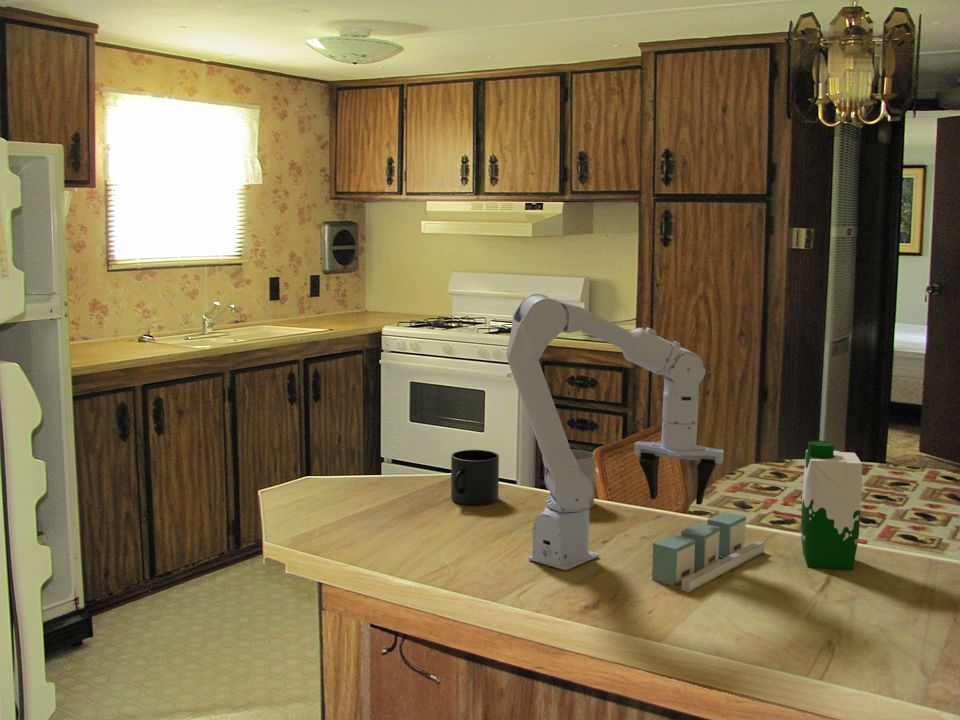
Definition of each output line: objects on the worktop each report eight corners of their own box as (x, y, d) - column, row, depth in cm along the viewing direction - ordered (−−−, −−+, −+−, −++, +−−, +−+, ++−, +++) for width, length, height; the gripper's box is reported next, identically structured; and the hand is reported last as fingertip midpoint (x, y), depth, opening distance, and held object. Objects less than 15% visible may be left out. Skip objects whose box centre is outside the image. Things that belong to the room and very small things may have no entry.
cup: (595, 510, 199) (596, 460, 197) (552, 510, 199) (553, 459, 197) (591, 498, 207) (592, 449, 206) (550, 497, 207) (551, 449, 206)
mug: (434, 504, 202) (434, 459, 201) (468, 490, 212) (468, 447, 211) (474, 512, 197) (475, 466, 196) (507, 497, 207) (507, 453, 206)
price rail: (689, 592, 157) (689, 581, 156) (681, 590, 158) (681, 579, 157) (764, 552, 175) (765, 542, 175) (757, 550, 176) (757, 540, 176)
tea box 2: (704, 572, 166) (705, 536, 165) (679, 566, 168) (681, 531, 167) (719, 562, 170) (721, 527, 170) (695, 557, 173) (697, 522, 172)
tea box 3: (728, 559, 172) (730, 524, 171) (706, 553, 175) (707, 519, 174) (745, 550, 176) (747, 516, 175) (723, 545, 179) (724, 511, 178)
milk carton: (796, 551, 176) (803, 436, 173) (852, 555, 174) (859, 439, 171) (801, 568, 168) (808, 448, 165) (860, 572, 166) (868, 451, 163)
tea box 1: (675, 586, 159) (676, 549, 158) (651, 580, 162) (653, 543, 161) (695, 576, 164) (696, 540, 163) (672, 570, 167) (673, 534, 166)
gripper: (631, 421, 170) (628, 501, 172) (719, 429, 164) (715, 511, 167) (641, 413, 176) (638, 490, 178) (727, 421, 171) (723, 500, 173)
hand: (676, 500), depth 173 cm, fingers open, 7 cm apart
